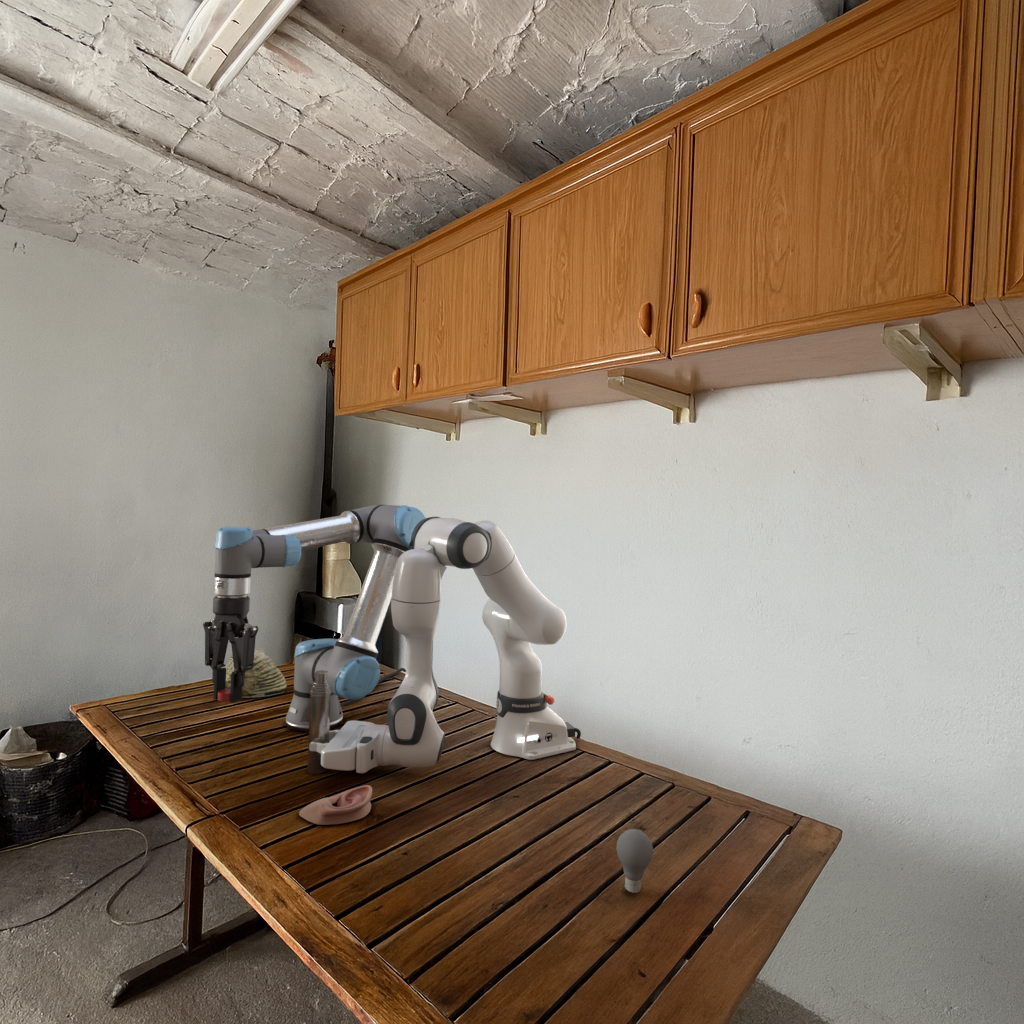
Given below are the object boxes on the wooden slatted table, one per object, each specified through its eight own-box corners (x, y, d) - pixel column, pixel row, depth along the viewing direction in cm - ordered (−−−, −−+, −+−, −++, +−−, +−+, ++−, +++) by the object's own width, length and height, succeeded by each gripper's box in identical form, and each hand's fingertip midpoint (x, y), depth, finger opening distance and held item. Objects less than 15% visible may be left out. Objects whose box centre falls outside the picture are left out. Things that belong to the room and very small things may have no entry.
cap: (237, 695, 145) (238, 688, 145) (235, 701, 141) (235, 693, 141) (219, 696, 144) (219, 688, 144) (216, 702, 140) (216, 694, 140)
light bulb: (610, 879, 108) (613, 822, 108) (644, 879, 109) (647, 822, 109) (619, 902, 102) (622, 840, 102) (655, 901, 103) (658, 840, 103)
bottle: (332, 768, 148) (335, 671, 147) (318, 775, 144) (321, 675, 143) (317, 764, 150) (321, 668, 149) (303, 771, 146) (306, 672, 145)
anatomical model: (291, 800, 123) (320, 775, 134) (290, 820, 123) (320, 794, 134) (354, 810, 120) (379, 784, 132) (353, 830, 121) (378, 803, 132)
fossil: (218, 695, 195) (220, 647, 195) (278, 685, 208) (279, 640, 207) (228, 703, 189) (230, 653, 188) (289, 692, 201) (290, 645, 201)
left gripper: (188, 594, 141) (184, 698, 141) (251, 601, 136) (246, 709, 136) (214, 590, 148) (210, 689, 148) (274, 597, 143) (270, 700, 143)
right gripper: (385, 715, 156) (330, 712, 157) (362, 747, 136) (298, 744, 136) (384, 741, 156) (329, 737, 157) (361, 777, 136) (297, 773, 137)
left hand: (227, 699), depth 142 cm, fingers closed on cap, 4 cm apart
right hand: (314, 740), depth 147 cm, fingers closed on bottle, 4 cm apart
